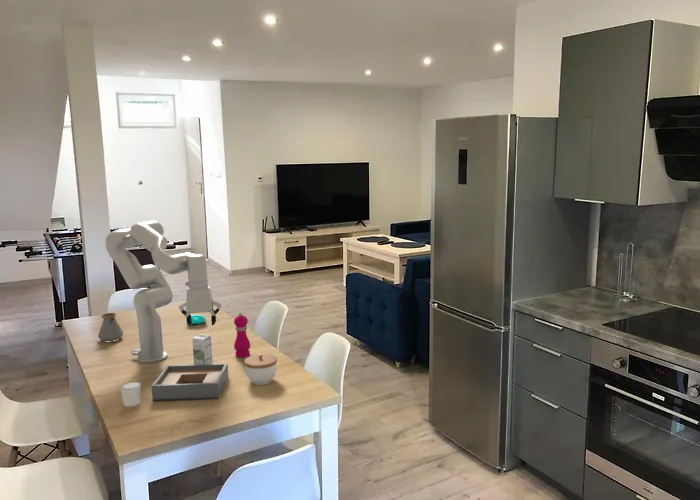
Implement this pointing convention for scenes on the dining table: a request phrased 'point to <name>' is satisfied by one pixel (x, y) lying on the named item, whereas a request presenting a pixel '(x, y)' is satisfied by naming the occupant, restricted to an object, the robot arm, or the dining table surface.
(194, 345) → the syrup box
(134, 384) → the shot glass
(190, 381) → the gray open box
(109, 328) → the coffee pot
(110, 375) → the dining table surface
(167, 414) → the dining table surface
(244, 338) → the pepper mill
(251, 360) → the lidded bowl
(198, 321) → the donuts
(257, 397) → the dining table surface
